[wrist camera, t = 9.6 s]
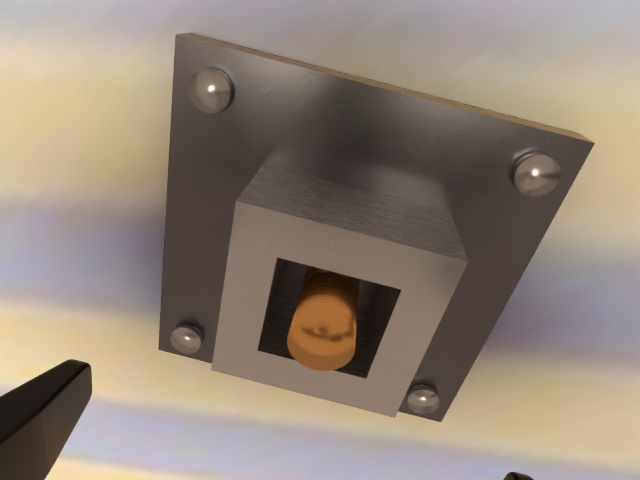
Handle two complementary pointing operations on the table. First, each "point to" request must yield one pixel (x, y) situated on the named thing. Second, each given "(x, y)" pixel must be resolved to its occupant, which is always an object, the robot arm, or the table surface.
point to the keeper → (356, 171)
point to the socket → (344, 258)
